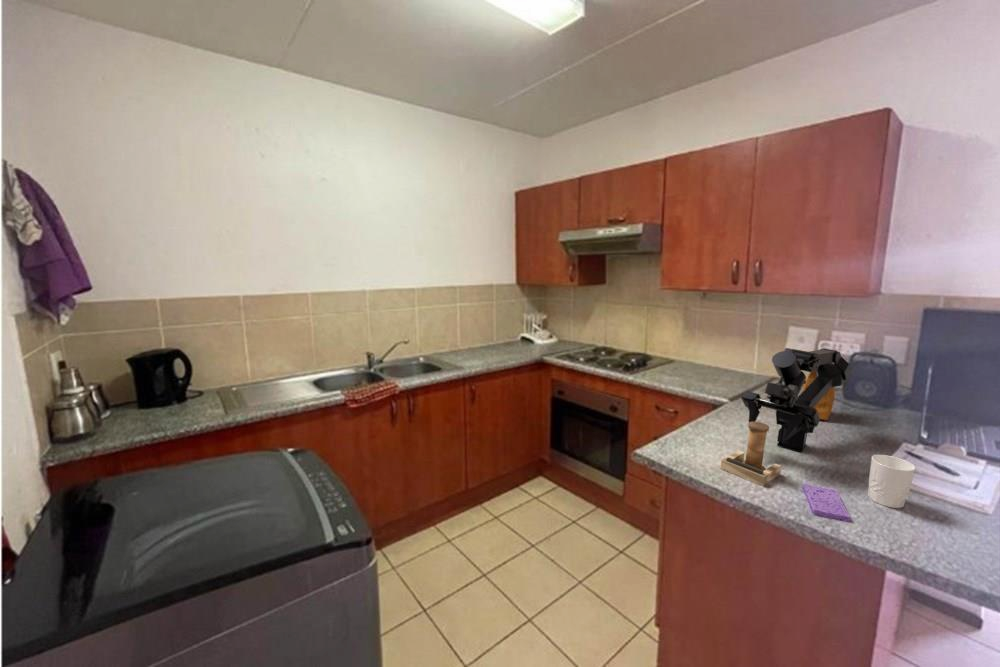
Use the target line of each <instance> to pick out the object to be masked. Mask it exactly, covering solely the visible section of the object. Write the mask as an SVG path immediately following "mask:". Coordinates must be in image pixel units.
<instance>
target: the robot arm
mask: <svg viewBox="0 0 1000 667" xmlns="http://www.w3.org/2000/svg"><path fill="white" fill-rule="evenodd" d="M771 362H772V365H773V367H774V368H775V370H776V373H777V375H778V376H779V377H780V378H779V379H778V381H777V382H775V383H773V382H769V381H768V382H767V384H766V387H765V389H764V394H767V395H766V398H767V399H769V400H767V399H762V398H761V395H760V394H759V393H757V392H751V391H748V390H746V391H745V392H743V393H742V394H741V396H740V398H741V400H742V403H743V404H744V406H745V407H746V408H747V409H748V412H749V414H748V423H749V422H757V418H758V417H759V415H760V413H761V411H760V410H761V408H762V407H763V408H767V409H770V410H775V420H776V421H775V422H776V425H779V426H781V427H780V428H779V429H778V433H777V442H778V443H777V444H776V446H777V447H781V448H784V449H788V450H791V451H794V452H798V453H803V451H805V449H806V448H807V447H808V445H807V438H808V434H813V433H814V430H815V427H818V425H819V423H820V420H821V419H820V418H819V415H818V411H817V410H816V408H813V407H814V406H815V405H816V404H817V403H818V402H819V401H820V400H821V399H822V398H823V396H824V395H825V394H826V393H827V392H828V391H829V390H830V389H831V388H832V387H834V388H836V387H841V386H842V385H844V384H845V383H846V382H847V381H849V380H850V378H851V375H852V370H851V365H850V363H849V362H848V361H847V360H845V359H844V358H843V356H842V354H841V352H840V351H839V350H837V349H830V348H825V347H823V348H820V349H815V350H811V351H806V350H801V349H795V348H789V347H786V348H785V349H784V350H781V351H779V352H776V353H775V354H773V356H772V358H771ZM814 371H816V373H817V377H816V378H815V379H814V380H813V381H812V383H811V384H810V385H809V386H808V387H807V388H806V389H805V390H804V391H803V392H802V389H803V386H804V384H806V380H807V376H806V374H805V372H808V373H810V372H814ZM800 392H801V393H800Z"/></svg>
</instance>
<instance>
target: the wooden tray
mask: <svg viewBox="0 0 1000 667" xmlns="http://www.w3.org/2000/svg"><path fill="white" fill-rule="evenodd" d="M745 454H746V452H744V451H741V450H738V451H736V452H734V453H732V454H729V455H728V456H727V457H724V458H723V459H721V461H720V468H721V470H723V471H725V470H726V471H725V472H727V471H728V473H730V472H731V474H732V473H733V474H732V475H735V474H736V475H735V476H737V475H738V476H737V477H741V478H742V477H743V478H742V479H744V480H747V479H748V480H747V481H750V482H752V483H754V484H757V485H760V486H763V487H764V486H765V485H767V484H768V483H770V481H773V480H774V479H775V478H777V477H778V476H780V475H781V468H782V465H780V464H777V463H773V464H772V465H771V466H769V467H767V468H766V470H764V471H763V470H761V469H758V468H755V467H753V466H750V465H748V464H745V463H742V462H744V461H745V460H744V459H745ZM741 461H742V462H741Z"/></svg>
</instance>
